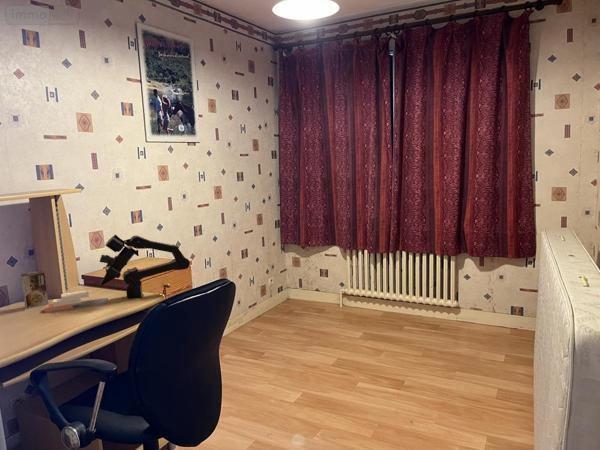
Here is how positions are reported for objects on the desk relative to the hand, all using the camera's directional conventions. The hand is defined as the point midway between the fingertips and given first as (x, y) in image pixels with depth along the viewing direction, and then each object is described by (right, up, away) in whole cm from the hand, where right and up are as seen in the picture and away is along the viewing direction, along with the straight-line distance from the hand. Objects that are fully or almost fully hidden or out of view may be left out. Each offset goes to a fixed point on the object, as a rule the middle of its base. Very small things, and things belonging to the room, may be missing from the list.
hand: (101, 284), depth 210 cm
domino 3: (-5, -4, -2) cm, 7 cm away
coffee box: (-30, -10, -1) cm, 32 cm away
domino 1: (-11, -9, -5) cm, 15 cm away
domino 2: (-8, -6, -4) cm, 11 cm away
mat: (-8, -10, -3) cm, 13 cm away
